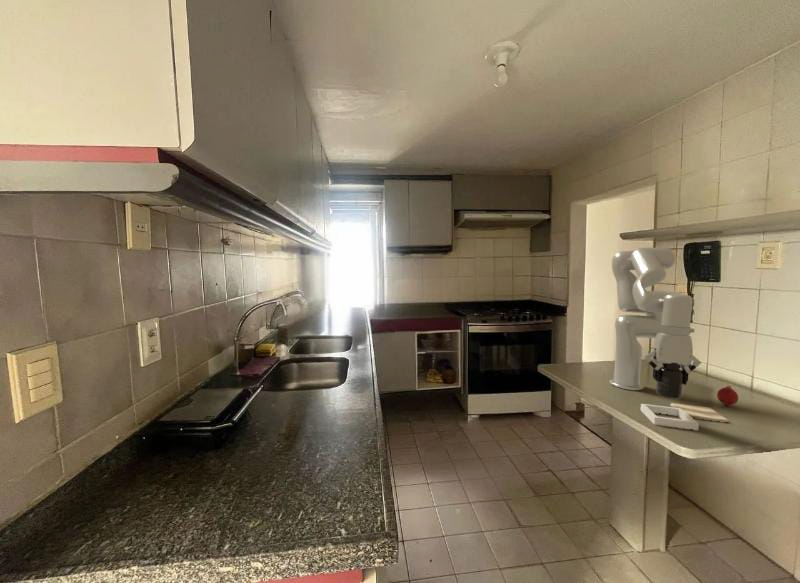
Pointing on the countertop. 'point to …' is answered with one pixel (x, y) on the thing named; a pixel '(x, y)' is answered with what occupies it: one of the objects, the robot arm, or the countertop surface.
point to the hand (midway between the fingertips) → (669, 381)
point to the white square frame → (685, 423)
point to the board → (700, 412)
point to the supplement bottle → (670, 381)
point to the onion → (727, 396)
